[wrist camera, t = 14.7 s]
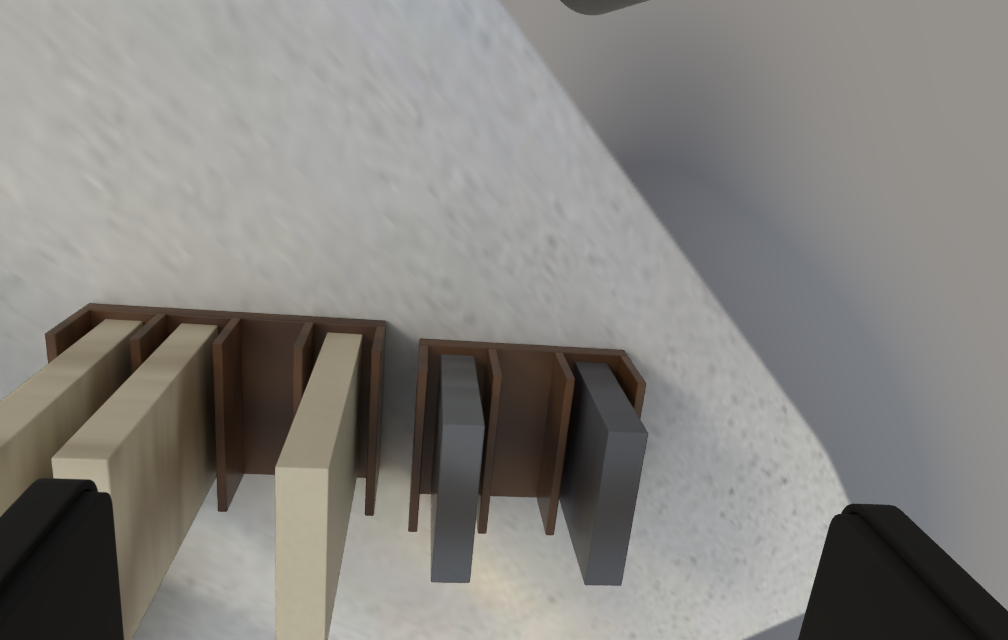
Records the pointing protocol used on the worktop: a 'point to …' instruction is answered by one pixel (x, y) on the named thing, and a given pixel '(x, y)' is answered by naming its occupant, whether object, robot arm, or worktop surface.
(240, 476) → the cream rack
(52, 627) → the robot arm
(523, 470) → the brown slotted rack
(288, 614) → the cream book
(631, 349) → the worktop surface
